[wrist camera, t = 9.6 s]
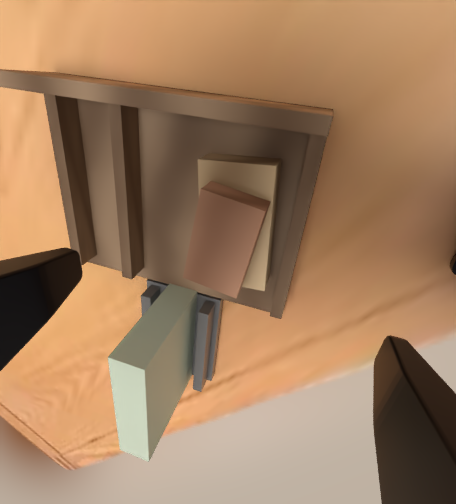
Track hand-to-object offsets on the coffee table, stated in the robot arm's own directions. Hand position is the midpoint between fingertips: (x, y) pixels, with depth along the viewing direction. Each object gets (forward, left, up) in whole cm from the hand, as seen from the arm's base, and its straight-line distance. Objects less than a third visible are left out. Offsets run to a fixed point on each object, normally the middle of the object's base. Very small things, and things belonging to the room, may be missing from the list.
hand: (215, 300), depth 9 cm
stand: (+6, +15, -12) cm, 20 cm away
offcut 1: (+2, +3, -12) cm, 12 cm away
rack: (+7, +3, -12) cm, 15 cm away
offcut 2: (+2, +3, -10) cm, 10 cm away
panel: (+6, +14, -12) cm, 19 cm away
